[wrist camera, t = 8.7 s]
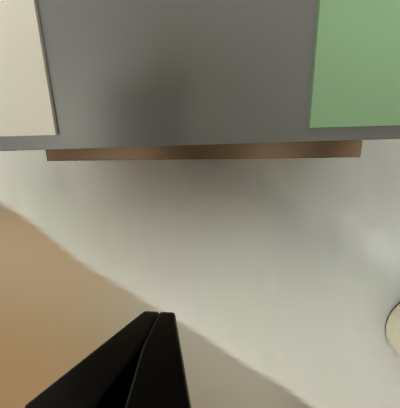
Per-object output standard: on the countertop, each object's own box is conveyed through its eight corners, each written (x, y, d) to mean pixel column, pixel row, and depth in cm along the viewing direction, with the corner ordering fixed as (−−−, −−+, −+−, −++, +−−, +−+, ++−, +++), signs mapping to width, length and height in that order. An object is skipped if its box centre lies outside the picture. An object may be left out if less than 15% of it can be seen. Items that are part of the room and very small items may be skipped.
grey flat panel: (413, -53, 11) (469, -95, 9) (384, 135, 13) (424, 138, 11) (-82, -57, 10) (-155, -107, 8) (-31, 148, 12) (-78, 153, 10)
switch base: (349, -25, 15) (417, -109, 9) (331, 149, 17) (376, 161, 12) (62, -2, 16) (-18, -62, 11) (84, 152, 19) (26, 165, 14)
